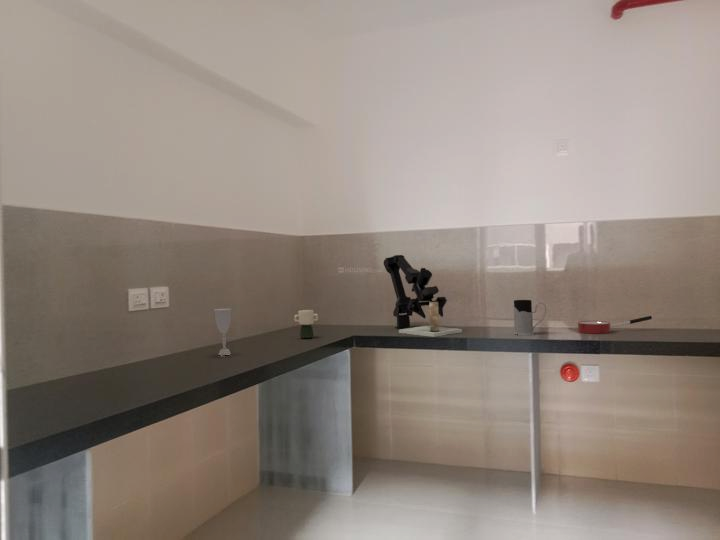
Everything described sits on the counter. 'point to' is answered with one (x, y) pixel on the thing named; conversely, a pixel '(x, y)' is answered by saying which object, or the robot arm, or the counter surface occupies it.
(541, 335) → the counter surface
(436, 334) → the seat board
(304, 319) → the trophy cup
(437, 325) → the beech peg
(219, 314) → the chalice
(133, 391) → the counter surface
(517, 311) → the grey mug
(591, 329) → the frying pan
